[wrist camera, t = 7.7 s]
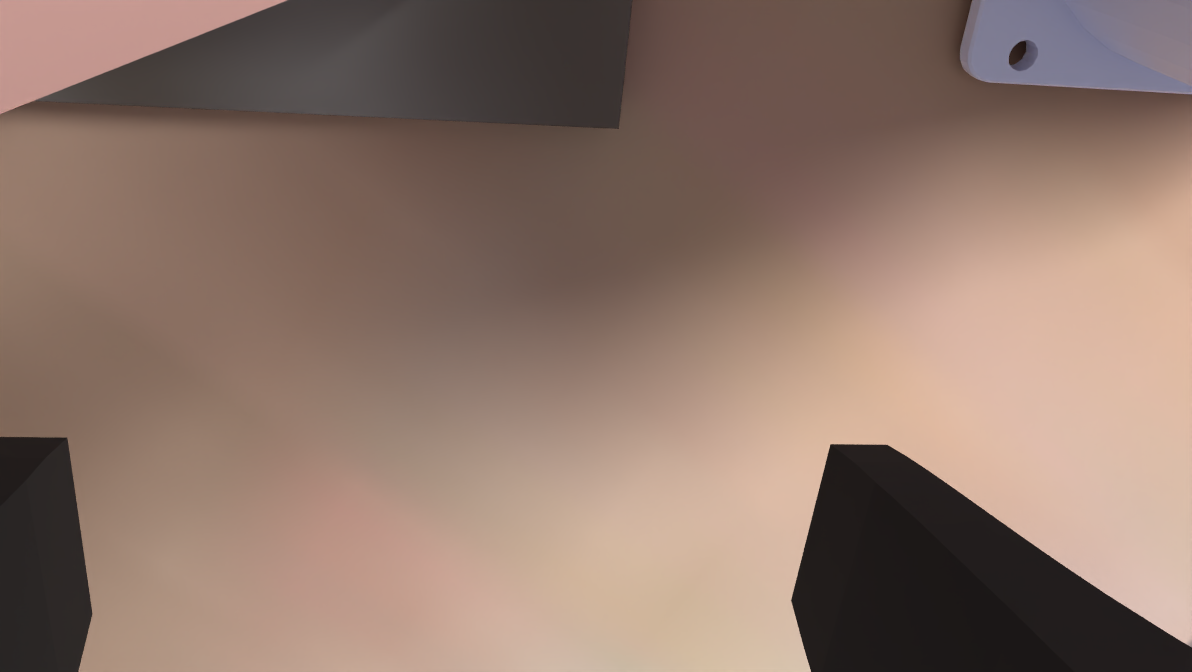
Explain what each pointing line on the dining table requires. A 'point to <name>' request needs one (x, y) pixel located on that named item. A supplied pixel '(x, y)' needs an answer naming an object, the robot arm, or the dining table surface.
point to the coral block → (96, 38)
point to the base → (393, 63)
